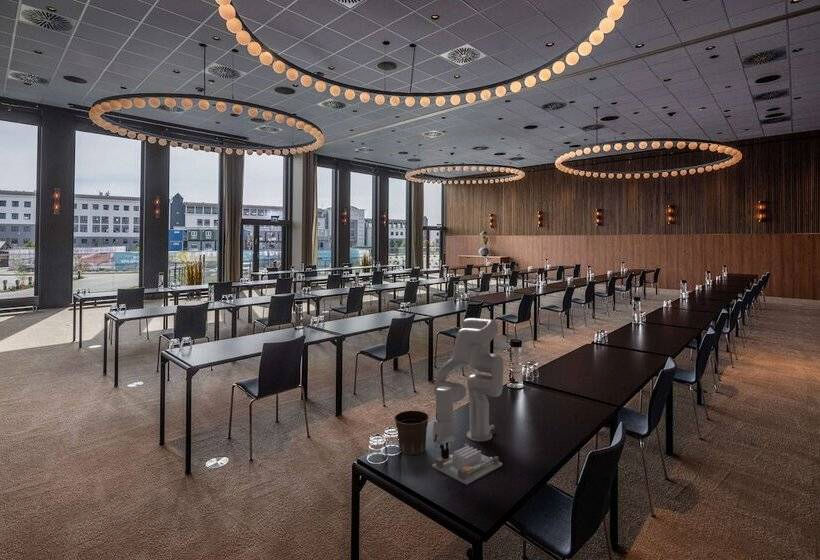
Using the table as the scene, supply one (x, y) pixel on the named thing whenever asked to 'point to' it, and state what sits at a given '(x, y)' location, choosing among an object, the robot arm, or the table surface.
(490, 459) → the strap
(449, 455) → the strap
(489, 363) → the robot arm
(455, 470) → the cooler board
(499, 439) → the table surface
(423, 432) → the plant pot
